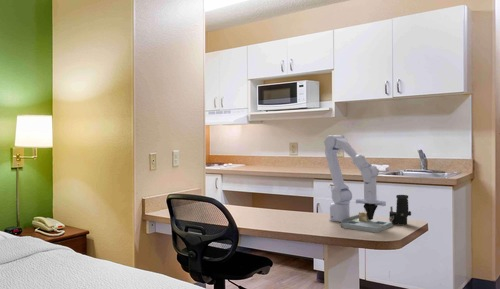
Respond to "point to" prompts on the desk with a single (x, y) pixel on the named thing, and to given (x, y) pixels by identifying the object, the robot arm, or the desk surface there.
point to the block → (363, 216)
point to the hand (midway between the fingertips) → (370, 219)
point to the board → (365, 224)
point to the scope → (400, 211)
